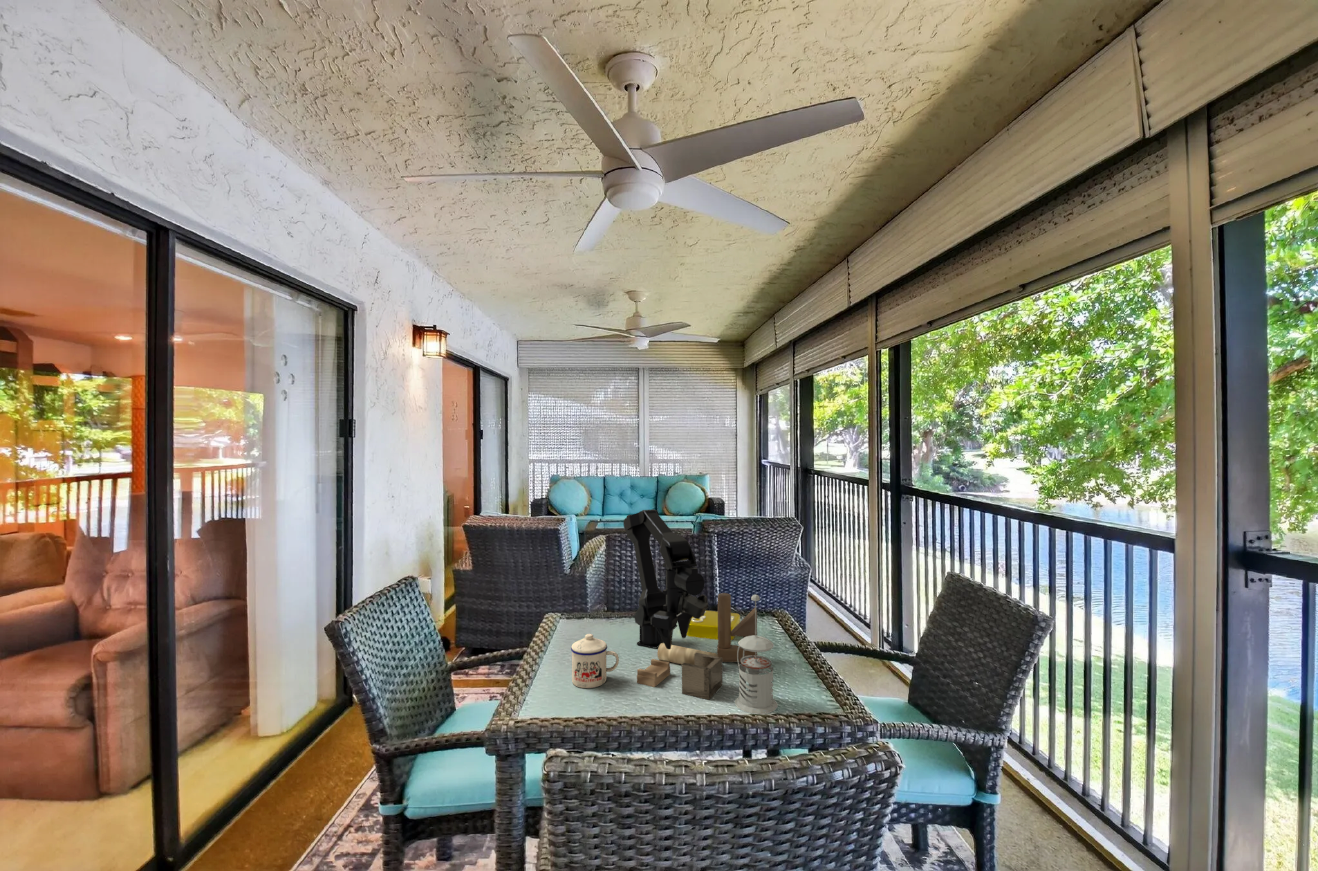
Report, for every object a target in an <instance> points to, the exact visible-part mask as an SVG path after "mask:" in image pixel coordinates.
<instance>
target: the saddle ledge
mask: <svg viewBox="0 0 1318 871" xmlns="http://www.w3.org/2000/svg"><path fill="white" fill-rule="evenodd" d="M670 663H671V662H668V661H663V660H659V659H655V658H652V659H650V664H649V666H647V667H646V668H645V669H643V668H638V669H637V671H636V672H637V673H636V674H637V675H636V684H638V685H639V684H640V685H643V686H648V687H652V688H655V687H657V686H658V685H659V684H660V683H662V682H663V681H664V680H665V679H667V677H669V676H670V675H671V665H670Z"/></svg>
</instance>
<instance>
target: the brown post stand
mask: <svg viewBox="0 0 1318 871" xmlns="http://www.w3.org/2000/svg"><path fill="white" fill-rule="evenodd" d="M731 603H732V596H731V594H730V593H727V592H726V593H725V592H721V593H719V594H717V612H718V640H717V646H716V650H717V651H716V654H717V656H718V657H722V663H738V661H737V651H738V648H739V644H738V645H737V644H732V640H731V636H735V637H742V639H743V638H745V637H747V636H752V635H755V607H754V608H753V609H752V610H751V611H750V612H749V613H747V615H746V616H745V617H744V618H742V620H740V623H739V624H738V625H737V626H736V627H735V628H734V629H733V630H732V631H731V613H732V604H731ZM756 636H758V610H757V609H756ZM743 650H744V649H743V648H741V647H740V648H739V652H738V660H739V663H741V662H740V659H742V658H743ZM750 655H752V656H754V655H755V652H752V651H748V650H747V651H745V650H744V657H745V656H750ZM756 656H758V652H756Z"/></svg>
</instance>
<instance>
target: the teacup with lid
mask: <svg viewBox="0 0 1318 871" xmlns="http://www.w3.org/2000/svg"><path fill="white" fill-rule="evenodd" d="M570 650H571V681H572V684H573V685H574V686H576V687H577V688H580V689H581V688H582V689H592V688H598V687H600V686H602V685H604V684H605V683H606V682H607V673H608V672H609V673H610V672H613V671H615V669H616V668H617V667H618V665H619V661H620V657H619V654H618V653H617V652H615V651H612V650H608V644H607V643H606V641H605V640H602V639H599V638H596V637H594V635H593V633H592V634H591V633H587V634H585V636H584V638H582V639H579V640H577V641H575V642H573V643H572V645H571V647H570ZM607 650H608V651H607ZM607 656H613V657H615V660H616V661H615V663H614V665H613V666H611V667H607Z"/></svg>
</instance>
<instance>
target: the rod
mask: <svg viewBox="0 0 1318 871" xmlns="http://www.w3.org/2000/svg"><path fill="white" fill-rule="evenodd" d="M695 653H701V654H707V655H712V656H717V652H709V651H706V650H700V649H695V648H690V647H684V646H679V645H673V644H671V649H667V648H666V646H665V644H664V643H661V644H660V646H658V647H657V660H661V661H666V662H670V663H674V664H677V665H682V664H683V663H688V664H693V665H695V657H694V654H695ZM717 657H718V656H717Z"/></svg>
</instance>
